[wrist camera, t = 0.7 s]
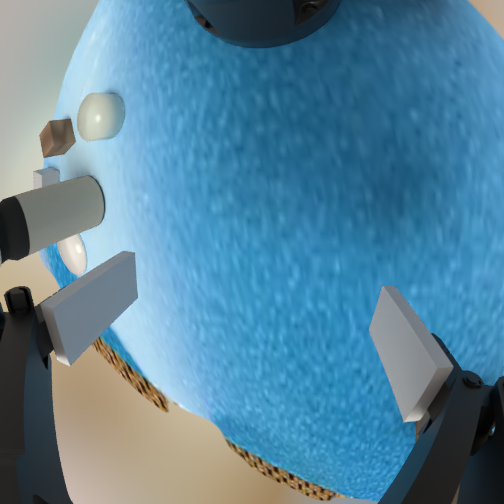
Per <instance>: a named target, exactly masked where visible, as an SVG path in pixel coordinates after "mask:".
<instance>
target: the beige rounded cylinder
mask: <svg viewBox="0 0 504 504" xmlns="http://www.w3.org/2000/svg"><path fill="white" fill-rule="evenodd" d="M124 118H125V106H124V102H123V100H122V98H121V97H120V96H119V95H117V94H107V93H91V94H89V95H88V96H86V98H85V99H84V100H83V102H82V103H81V106H80V108H79V111H78V117H77V127H78V131H79V134H80V136H81V137H82V139H83V140H85V141H94V140H104V139H111V138H113V137H115V136H116V135H117V134H118V133H119V131H120V130H121V128H122V125H123V122H124Z"/></svg>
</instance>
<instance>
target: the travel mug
mask: <svg viewBox="0 0 504 504" xmlns="http://www.w3.org/2000/svg"><path fill="white" fill-rule="evenodd" d="M103 214H104V201H103V196H102V192H101V190H100V187H99V185H98V184H97V182H96V181H95V180H94V179H93V178H92V177H89V176H84V177H80V178H76V179H71V180H67V181H63V182H60V183H56V184H52V185H48V186H45V187H41V188H38V189H34V190H31V191H28V192H25V193H21V194H18V195H15V196H12V197H9V198H6V199H3V200H2V201H1V202H0V267H1V264H2V263H3V262H5V261H6V260H8V259H11V260H20V259H22V258H24V257H26V256H28V255H30V254H33V253H35V252H37V251H39V250H41V249H43V248H46V247H48V246H50V245H52V244H55V243H57V242H59V241H62V240H64V239H66V238H69V237H71V236H73V235H76V234H78V233H81V232H83V231H85V230H88V229H90V228H93V227H95V226H98V225H99V224H100V222H101V220H102V218H103Z"/></svg>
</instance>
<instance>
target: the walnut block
mask: <svg viewBox="0 0 504 504" xmlns="http://www.w3.org/2000/svg"><path fill="white" fill-rule="evenodd" d="M40 140H41V147H42V152H43V157H44V158H46V157H52V156H57V155H62V154H65V153H66V152H67V151H68V150H69V149H70V147H71V146H72V145H73V144H74V143H75V142H76V141H75V136H74V132H73V127H72V122H71V119H65V120H53V121H49V122H48V124H47V125H46V127H45V128H44V129H43V131H42V132H41V134H40Z"/></svg>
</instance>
